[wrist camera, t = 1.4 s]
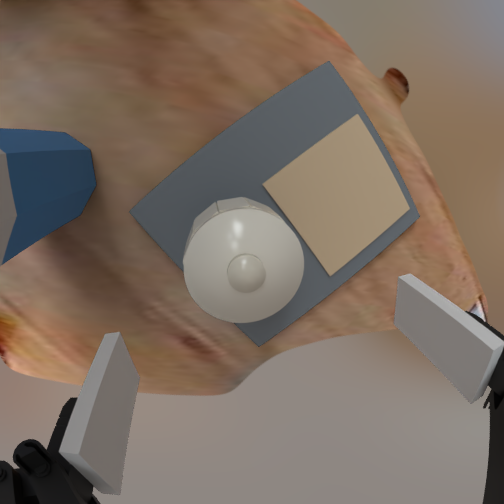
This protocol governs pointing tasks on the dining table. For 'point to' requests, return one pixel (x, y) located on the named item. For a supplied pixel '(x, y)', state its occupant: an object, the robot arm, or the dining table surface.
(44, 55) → the dining table surface
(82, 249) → the dining table surface
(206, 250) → the cap
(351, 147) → the board
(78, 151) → the water bottle
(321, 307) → the dining table surface
